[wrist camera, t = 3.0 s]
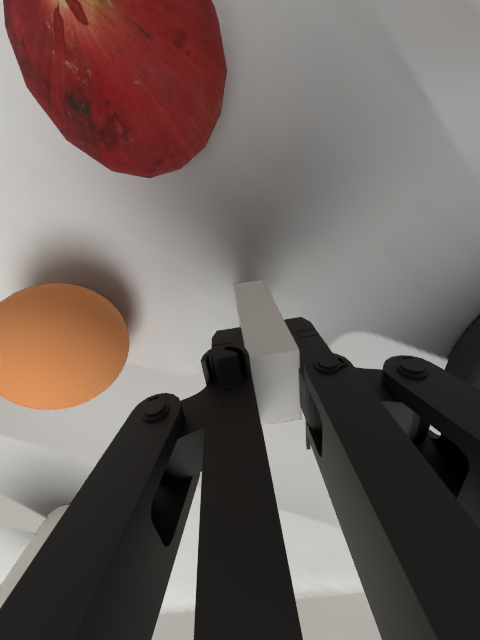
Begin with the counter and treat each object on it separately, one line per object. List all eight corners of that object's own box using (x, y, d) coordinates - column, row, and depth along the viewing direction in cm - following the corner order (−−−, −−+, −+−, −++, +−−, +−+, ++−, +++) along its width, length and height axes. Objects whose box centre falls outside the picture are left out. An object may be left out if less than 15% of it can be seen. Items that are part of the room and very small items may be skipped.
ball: (162, 313, 16) (133, 376, 10) (108, 376, 17) (59, 458, 12) (65, 245, 14) (-33, 279, 8) (14, 323, 15) (-95, 395, 10)
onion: (182, 205, 13) (141, 221, 6) (65, 126, 12) (-181, 20, 4) (247, 83, 11) (298, -98, 4) (119, -34, 10) (-160, -669, 3)
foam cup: (110, 482, 22) (-10, 807, 10) (152, 537, 26) (99, 815, 15) (4, 506, 22) (-227, 847, 11) (61, 557, 27) (-61, 845, 15)
